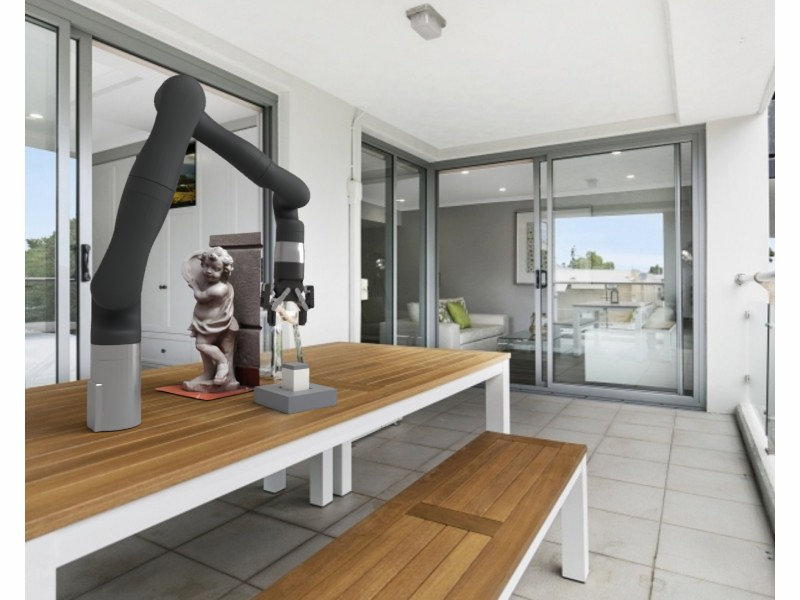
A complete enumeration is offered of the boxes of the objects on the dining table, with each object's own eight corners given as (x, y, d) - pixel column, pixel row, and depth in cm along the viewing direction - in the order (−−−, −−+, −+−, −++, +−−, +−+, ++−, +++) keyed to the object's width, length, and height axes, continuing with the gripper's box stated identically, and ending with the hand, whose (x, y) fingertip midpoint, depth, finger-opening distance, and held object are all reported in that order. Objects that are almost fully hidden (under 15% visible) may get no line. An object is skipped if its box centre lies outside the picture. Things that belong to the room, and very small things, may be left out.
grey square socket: (288, 414, 117) (288, 396, 117) (254, 402, 128) (254, 386, 128) (336, 405, 126) (337, 389, 126) (300, 394, 138) (301, 380, 138)
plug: (293, 402, 124) (293, 366, 123) (281, 398, 127) (281, 363, 127) (308, 400, 127) (309, 364, 127) (296, 396, 131) (297, 361, 130)
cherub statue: (154, 390, 140) (155, 229, 139) (210, 381, 156) (211, 235, 155) (207, 401, 128) (208, 224, 127) (262, 389, 144) (264, 232, 143)
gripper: (271, 258, 118) (269, 327, 119) (321, 262, 128) (319, 326, 129) (255, 259, 124) (253, 325, 124) (304, 263, 134) (302, 324, 134)
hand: (287, 325), depth 126 cm, fingers open, 8 cm apart
